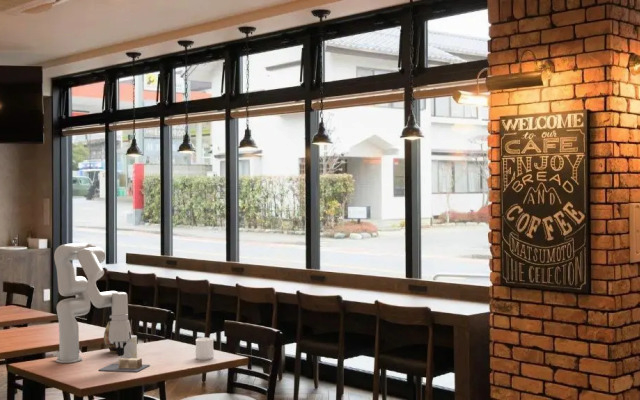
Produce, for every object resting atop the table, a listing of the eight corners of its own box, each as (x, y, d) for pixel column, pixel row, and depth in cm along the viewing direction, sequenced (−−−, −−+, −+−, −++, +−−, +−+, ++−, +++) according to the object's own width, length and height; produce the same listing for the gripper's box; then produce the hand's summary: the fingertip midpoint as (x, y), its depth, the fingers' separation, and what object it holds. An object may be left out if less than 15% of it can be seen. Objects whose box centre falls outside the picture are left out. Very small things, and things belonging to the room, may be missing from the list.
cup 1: (132, 361, 397) (132, 338, 397) (118, 361, 398) (117, 337, 398) (139, 358, 405) (139, 335, 404) (125, 358, 406) (124, 335, 406)
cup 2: (201, 360, 396) (201, 341, 396) (191, 358, 404) (190, 339, 404) (217, 358, 403) (217, 339, 403) (206, 355, 410) (206, 336, 410)
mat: (98, 370, 377) (98, 369, 377) (112, 364, 390) (112, 363, 390) (137, 372, 372) (137, 371, 372) (149, 365, 386) (149, 364, 386)
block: (118, 359, 380) (138, 360, 378) (122, 358, 384) (141, 358, 382) (118, 367, 380) (138, 368, 378) (122, 366, 384) (142, 366, 382)
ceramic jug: (124, 347, 435) (123, 293, 435) (138, 351, 423) (137, 295, 423) (96, 352, 423) (95, 296, 423) (109, 356, 412) (108, 299, 412)
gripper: (102, 318, 380) (102, 356, 380) (130, 319, 376) (131, 357, 376) (109, 316, 387) (110, 353, 387) (137, 316, 384) (138, 354, 384)
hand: (120, 355), depth 382 cm, fingers closed
